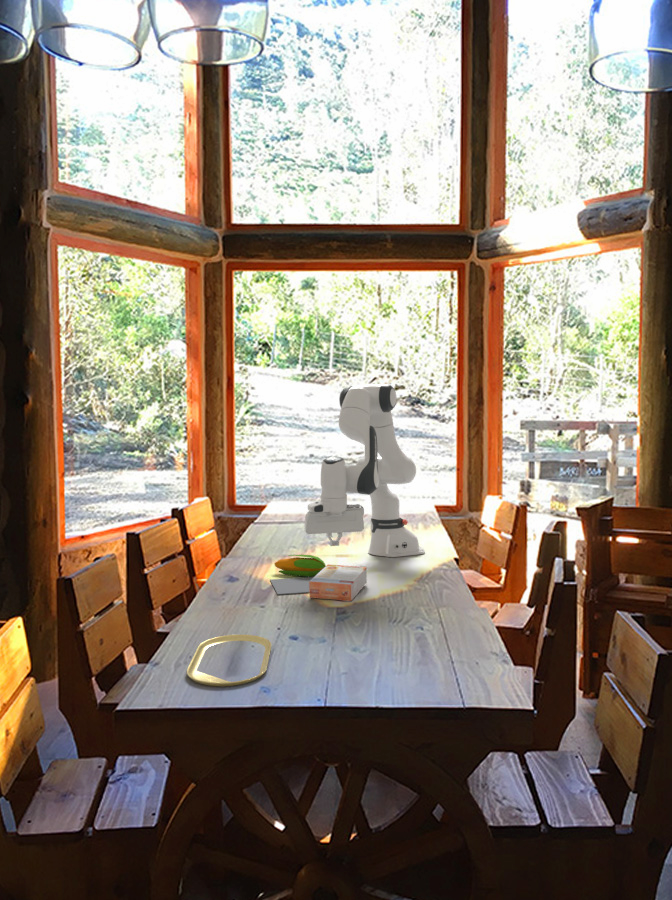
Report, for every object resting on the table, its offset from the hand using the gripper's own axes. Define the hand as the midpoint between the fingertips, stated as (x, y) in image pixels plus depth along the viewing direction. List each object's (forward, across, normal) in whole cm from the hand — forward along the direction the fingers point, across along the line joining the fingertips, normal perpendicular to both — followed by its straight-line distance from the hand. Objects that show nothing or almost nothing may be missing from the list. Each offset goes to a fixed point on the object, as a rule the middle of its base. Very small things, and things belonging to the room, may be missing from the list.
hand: (334, 545), depth 271 cm
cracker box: (+10, -4, +2) cm, 10 cm away
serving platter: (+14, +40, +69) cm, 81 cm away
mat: (+13, +10, 0) cm, 16 cm away
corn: (+14, +10, -16) cm, 23 cm away
